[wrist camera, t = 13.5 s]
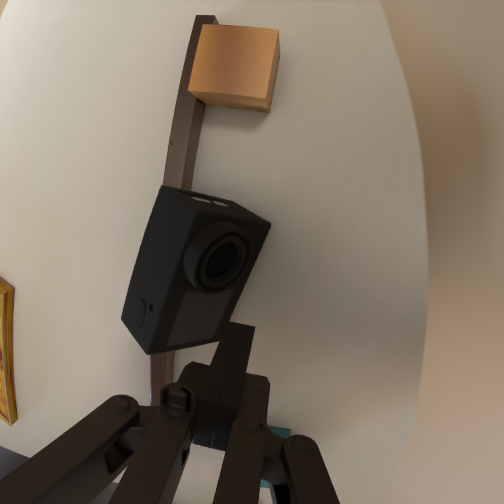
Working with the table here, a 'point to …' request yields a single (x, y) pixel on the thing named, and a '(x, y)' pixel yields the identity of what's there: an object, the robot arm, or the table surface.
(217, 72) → the oak block
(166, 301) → the digital camera
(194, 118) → the rail
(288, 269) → the table surface
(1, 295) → the picture frame
